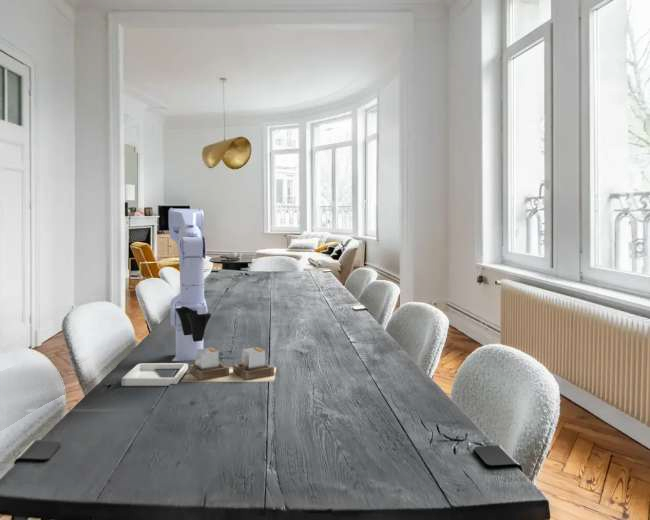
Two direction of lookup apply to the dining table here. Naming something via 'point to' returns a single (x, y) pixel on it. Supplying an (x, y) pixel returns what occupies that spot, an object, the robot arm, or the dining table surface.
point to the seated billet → (253, 359)
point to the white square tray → (152, 374)
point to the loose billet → (206, 359)
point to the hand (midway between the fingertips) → (192, 337)
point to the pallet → (230, 374)
